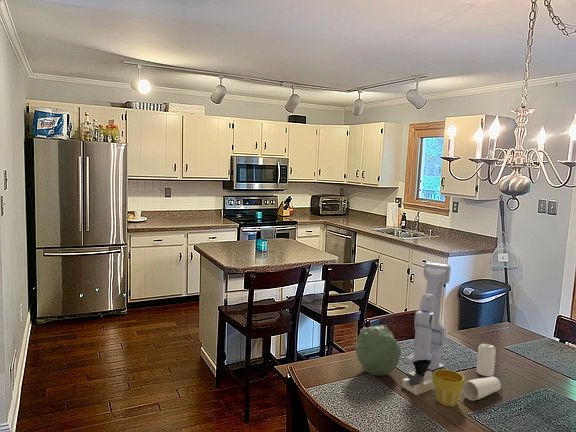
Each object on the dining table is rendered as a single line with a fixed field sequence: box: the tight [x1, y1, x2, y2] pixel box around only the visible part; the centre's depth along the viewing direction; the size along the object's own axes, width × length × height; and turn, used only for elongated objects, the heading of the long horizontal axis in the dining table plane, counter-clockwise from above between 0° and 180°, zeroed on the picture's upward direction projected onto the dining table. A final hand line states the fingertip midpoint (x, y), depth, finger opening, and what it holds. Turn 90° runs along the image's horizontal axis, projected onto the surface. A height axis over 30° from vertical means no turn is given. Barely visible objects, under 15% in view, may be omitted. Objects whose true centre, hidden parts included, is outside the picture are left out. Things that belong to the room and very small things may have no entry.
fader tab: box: [406, 370, 423, 387], centre depth 165 cm, size 5×3×4 cm, turn 32°
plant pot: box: [432, 368, 465, 407], centre depth 157 cm, size 10×10×10 cm
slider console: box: [401, 370, 435, 396], centre depth 168 cm, size 7×15×3 cm, turn 123°
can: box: [476, 342, 497, 378], centre depth 180 cm, size 6×6×12 cm
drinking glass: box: [462, 375, 502, 402], centre depth 163 cm, size 7×7×15 cm
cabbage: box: [355, 324, 402, 377], centre depth 176 cm, size 16×19×20 cm
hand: (420, 377), depth 167 cm, fingers closed
